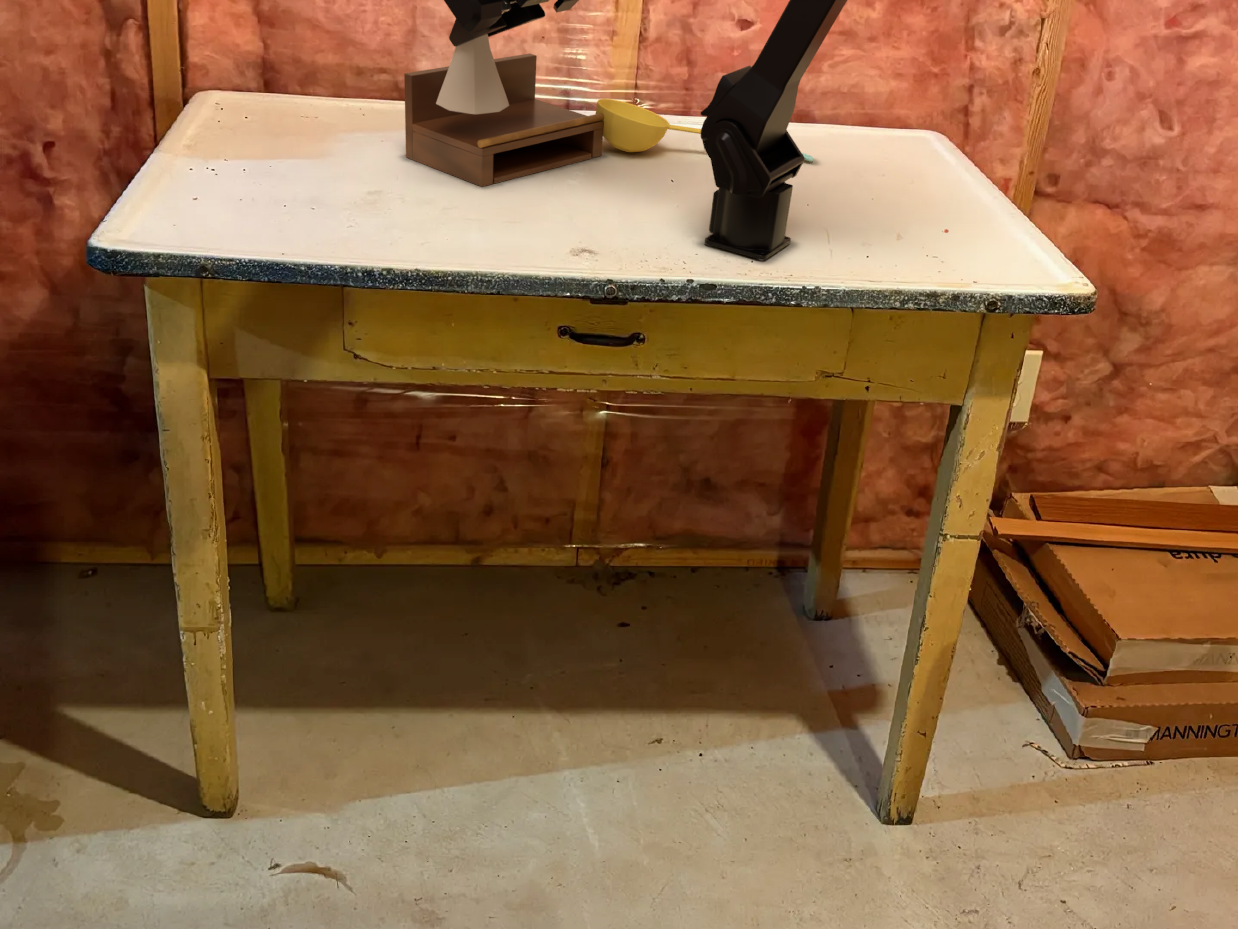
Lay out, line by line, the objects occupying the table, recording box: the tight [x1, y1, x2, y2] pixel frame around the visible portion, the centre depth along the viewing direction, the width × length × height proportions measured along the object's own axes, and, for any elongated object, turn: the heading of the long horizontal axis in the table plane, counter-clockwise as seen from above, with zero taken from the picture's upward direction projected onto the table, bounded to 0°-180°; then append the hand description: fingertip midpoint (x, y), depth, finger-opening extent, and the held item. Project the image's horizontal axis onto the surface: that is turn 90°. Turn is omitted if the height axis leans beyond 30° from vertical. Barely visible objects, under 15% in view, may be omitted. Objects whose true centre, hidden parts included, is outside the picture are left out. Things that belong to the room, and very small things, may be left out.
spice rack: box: [403, 53, 604, 188], centre depth 126 cm, size 12×19×9 cm, turn 139°
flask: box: [436, 34, 509, 114], centre depth 118 cm, size 7×7×10 cm
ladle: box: [595, 98, 814, 163], centre depth 135 cm, size 9×26×6 cm, turn 93°
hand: (462, 39), depth 117 cm, fingers closed on flask, 3 cm apart
